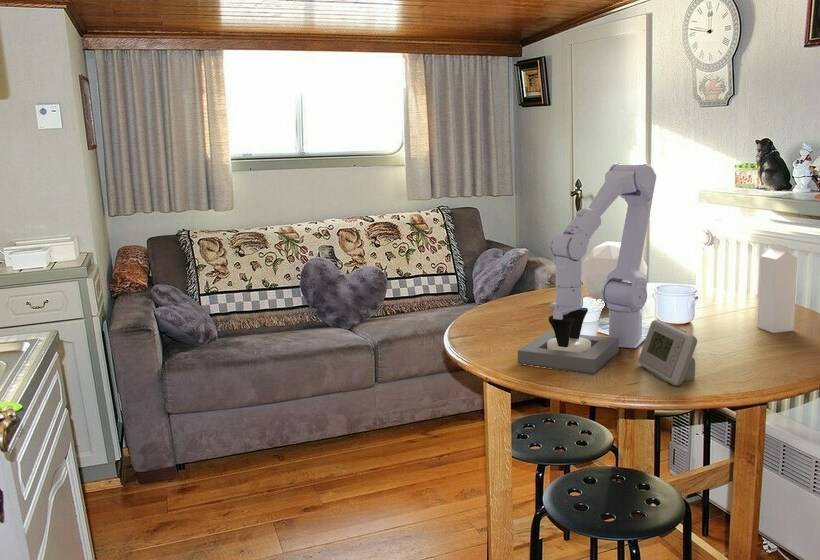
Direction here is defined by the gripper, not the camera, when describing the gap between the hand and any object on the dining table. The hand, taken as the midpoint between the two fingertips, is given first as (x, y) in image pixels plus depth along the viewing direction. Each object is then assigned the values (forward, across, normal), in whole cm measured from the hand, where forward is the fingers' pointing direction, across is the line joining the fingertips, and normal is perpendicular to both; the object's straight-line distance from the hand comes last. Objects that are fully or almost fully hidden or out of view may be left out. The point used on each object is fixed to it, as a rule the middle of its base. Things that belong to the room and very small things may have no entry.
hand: (568, 342), depth 169 cm
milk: (+4, -44, +39) cm, 59 cm away
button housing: (+4, 0, 0) cm, 4 cm away
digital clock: (+4, +3, +23) cm, 23 cm away
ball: (+4, -59, -7) cm, 60 cm away
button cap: (+3, 0, 0) cm, 3 cm away
